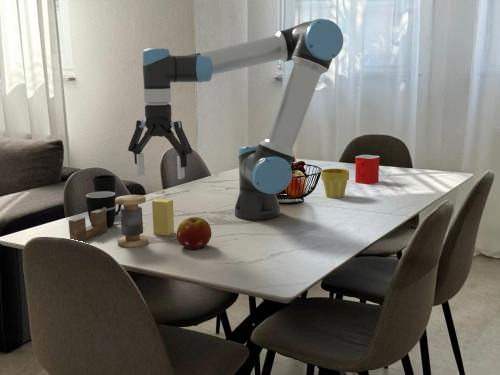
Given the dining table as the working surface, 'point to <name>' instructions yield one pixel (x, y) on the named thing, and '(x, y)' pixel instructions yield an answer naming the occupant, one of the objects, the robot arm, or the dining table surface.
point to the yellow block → (163, 216)
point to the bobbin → (131, 221)
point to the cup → (104, 183)
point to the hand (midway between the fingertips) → (160, 176)
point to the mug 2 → (367, 169)
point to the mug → (103, 205)
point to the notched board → (86, 233)
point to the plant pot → (335, 182)
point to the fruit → (194, 233)
